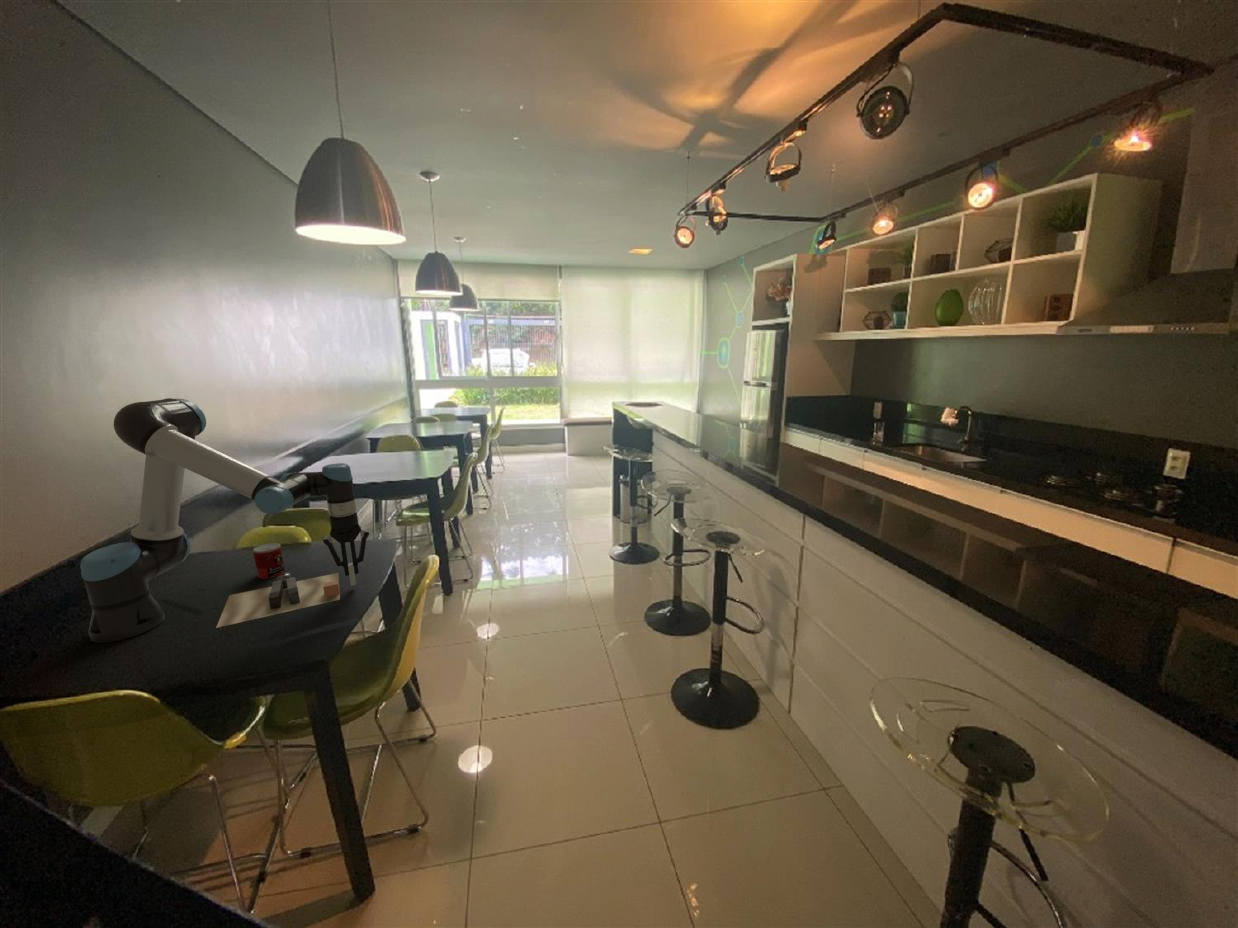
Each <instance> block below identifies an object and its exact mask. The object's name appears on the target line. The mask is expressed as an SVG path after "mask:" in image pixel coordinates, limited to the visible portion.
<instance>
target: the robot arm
mask: <svg viewBox="0 0 1238 928" xmlns="http://www.w3.org/2000/svg"><path fill="white" fill-rule="evenodd" d="M206 427H207V418H206V416H205V413H204V412H203V410H202V409H200V407H199V406H198V405H197V404H196V403H194V402H193V401H190V400H188V399H185V398H171V397H169V398H168V397H167V398H164V399H158V400H148V401H139V402H137V401H136V402H133V403H129V404H127V405H125V406H123V407H122V408H121V409H119V411H117V413H116V414H115V416H114V418H113V429H114V432H115V434H116V435H117V437H118V438H119V439H120V440H121V441H122V442H123V443H124V444H126V445H127V446H128V447H130V448H132V449H133V450H135V451H137V452H140V453H141V454H144V455H145V460H144V470H143V472H144V473H143V480H142V489H141V501H140V510H139V517H138V518H139V520H138V525H137V526H135V527H133V528H132V529H131V530H130V536H129V537H130V539H129V542H127V541H126V542H119V543H114V544H110V545H108V546H105V547H100V548H98V549H95V550H93V551H91V552H90V553H88V554H86V555H85V556H84V557H82V559H81V560H80V564H79V565H80V567H79V568H80V570H81V571H80V575H81V578H82V581H83V583H84V587H85V590H86V593H87V597H88V600H89V604H90V606H91V617H90V622H89V628H88V636H89V639H90V641H91V642H93V643H99V644H101V643H102V644H104V643H111V642H118V641H124V640H126V639H130V638H133V637H136V636H139V635H142V634H144V633H146V632H148V631H151V630H153V629H155V628H157V627H158V626H160V625H161V624H162V623H163V622H164V621H165V620H166V615H165V612H164V609H163V608H162V607H161V605H160V604H159V603H158V601H156V599H155V598H154V597H153V596H152V593H151V591H150V586H149V581H151V580H152V579H154V578H156V577H158V576H160V575H162V574H164V573H165V572H168V571H170V570H172V569H174V568H176V567H177V566H179V565H180V564H181V563H182V562H184V561H185V560H186V559H187V557H189V555H190V553H191V549H192V548H191V547H192V544H191V540H190V538H188V535H187V534H186V533H185V530H184V528H183V527H182V526H180V525H179V519H180V512H181V511H180V510H181V502H182V494H183V486H184V485H183V484H184V477H185V470H189V471H191V472H193V473H195V474H197V475H199V476H201V477H203V478H205V479H208V480H210V481H212V482H215V484H218V485H221V486H223V487H225V488H226V489H229V490H232V491H233V492H236V493H238V494H241V495H243V496H245V497H247V498H248V499H251V500H253V501H254V505H255V506H256V508H257V509H259V511H260V512H262V513H264V514H267V515H277V514H280V513H282V512H285V511H287V510H288V509H290V508H291V507H293V506H294V505H296V504H299V503H300V502H302V501H304V500H305V499H307V498H314V497H326V499H325V500H326V504H327V511H328V514H329V524H330V532H329V534H328V535H327V536H325V537H322V542H323V544H325V545H326V547H328V549H329V552H330V554H331V556H332V558H333V561H334V562H335V565H336V567H343V570H344V576H345V577H348V576H349V580H350V581H349V582H350V586H351V587H353V586H356V585H357V581H356V575H357V574H359V567H358V564H359V563H362V562H364V558H365V550H366V545H367V544H366V543H367V539H368V538H369V536H370V531H369V530H368V529H366V530H365V529H362V526H361V525H360V524H359V518H358V513H357V512H356V511H357V503H356V497H355V490H354V481H353V475H352V470H351V467H350V465H349V464H347V463H343V462H341V463H340V462H339V463H329V464H326V465H323V466H322V467H321V471H313V472H312V471H310V472H309V471H308V472H307V471H305V472H303V471H302V472H300V471H294V472H289V473H288V472H287V473H284V474H282V475H281V476H280V478H279V479H277V478H275V477H273V476H271V475H268V473H267V474H266V473H265V472H263V471H260V470H258V469H256V468H254V467H252V466H250V465H248V464H245V463H244V462H242V461H239V460H238V459H235V458H233V457H231V456H229V455H227V454H225V453H224V452H223V453H222V452H221V451H219V450H216V449H215V448H213V447H210V446H208V445H207V444H204V443H202V442H200V441H199V440H196V437H198V436H199V435H200V434H201V433H203V432H204V431H205V429H206ZM359 534H360V537H361V539H360V546H359V554H358V557H357V551H356V545H355V541H356V539H357V538H358V536H359ZM333 539H334V540H335V541H336V542H338V544H340V550H341V556H342V557H341V558H342V560H341V558H340V556H339V554H338V552H337V550H336V548H335V545H334V544H333ZM346 543H349V546H350V551H351V558H352V562H350V563H349V562H348V561H349V560H348V554H347V548H346Z"/></svg>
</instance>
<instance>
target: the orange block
mask: <svg viewBox="0 0 1238 928" xmlns="http://www.w3.org/2000/svg"><path fill="white" fill-rule="evenodd" d="M323 589H324V595H325V597H329V596H334V595H338V594H340V595H341V593H340V583H339V584H338V580H336V581H332V582H327V583H323Z"/></svg>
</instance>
